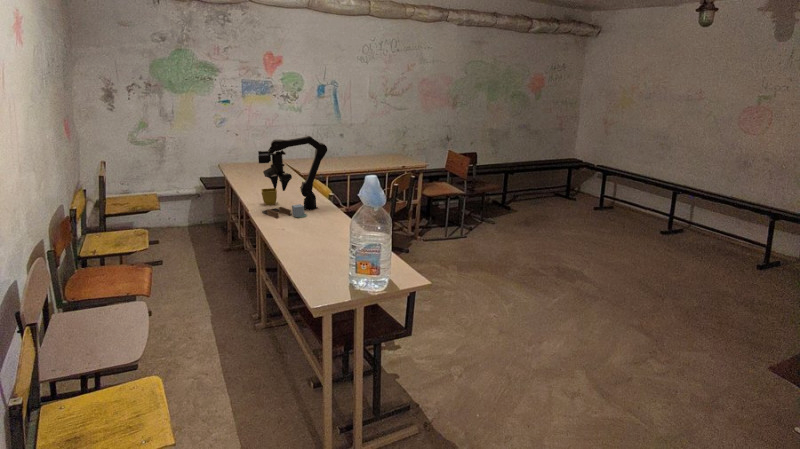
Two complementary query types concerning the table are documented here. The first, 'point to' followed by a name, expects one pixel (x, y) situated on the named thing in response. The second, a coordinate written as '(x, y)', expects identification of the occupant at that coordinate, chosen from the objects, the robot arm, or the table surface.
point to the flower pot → (269, 196)
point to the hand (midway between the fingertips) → (279, 189)
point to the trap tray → (272, 210)
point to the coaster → (302, 216)
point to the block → (298, 210)
